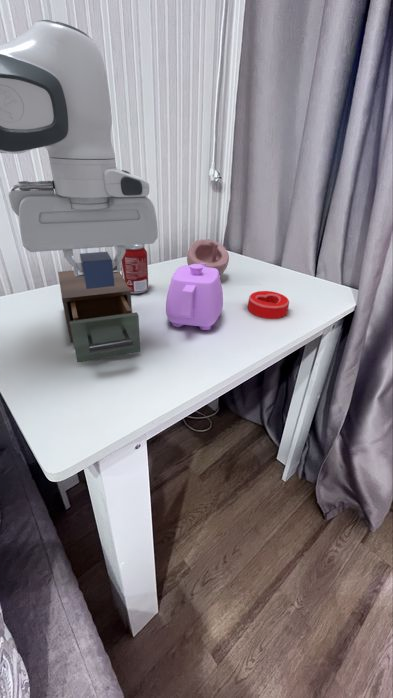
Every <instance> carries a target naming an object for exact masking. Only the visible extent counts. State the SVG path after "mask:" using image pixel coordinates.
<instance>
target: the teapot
mask: <svg viewBox="0 0 393 698" xmlns="http://www.w3.org/2000/svg"><path fill="white" fill-rule="evenodd" d="M223 308H224V293H223V286H222V281H221V275H220V276H219V272H218V270H217V269H216V268H210V267H206V263H200V264H191V265H188V264H185V265H180V266H179V267H178V268H176V270H175V271H174V273H173V274H172V277H171V280H170V283H169V286H168V289H167V293H166V299H165V314H166V316H167V319H168V320H169V322H171V324H172V326H173V327H176V328H180V327H183V326H184V325H185V326H194V327H199V329H200V330H202V331H210V330H212V326H214V324H215V323H217V322H216V321H217V320H218V319H219V317H220V315H221V314H222V311H223Z"/></svg>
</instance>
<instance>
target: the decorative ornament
mask: <svg viewBox="0 0 393 698" xmlns="http://www.w3.org/2000/svg"><path fill="white" fill-rule="evenodd" d="M247 302H248V303H247V310H248V312H249V313H250V314H252V315H253V316H256V317H258V318H262V319H267V320H268V319H269V320H277V319H281V318H285V317H286V316H287V314H288V311H289V307H290V306H289V305H290V300H289V298H288V297H287V296H285V295H284V294H281V293H279V292H277V291H270V290H258V291H254V292H251V294H250V295H249V297H248V301H247Z"/></svg>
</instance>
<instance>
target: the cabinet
mask: <svg viewBox="0 0 393 698" xmlns="http://www.w3.org/2000/svg"><path fill="white" fill-rule="evenodd" d="M57 274H58V275H57V276H58V282H59V288H60V289H59V290H60V295H61V301H62V306H63V311H64V316H65V322H66V327H67V332H68V336H69V342H70V344H74V343H73V338H72V333H71V327H70V321H73V315H72V310H71V304H70V301H78V300H87V299H96V298H104V297H113V296H122V295H124V297H125V299H126V301H127V303H128V305H129V307H130V309H131V311H132V312H133V305H132V294H131V291H130V289H129V287H128V286H127V284H126V282H125V280H124V279H123V277H122V273H121V272H120V273H113V275H114V284H115V286H110V287H101V288H92V289H86V285H85V282H84V278H83V276H78V277H75V275H74V269H73V270H64V271H58V272H57Z"/></svg>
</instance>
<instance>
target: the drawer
mask: <svg viewBox="0 0 393 698" xmlns="http://www.w3.org/2000/svg"><path fill="white" fill-rule="evenodd" d="M70 304H71V310H72V315H73V321H70V327H71V333H72V338H73V343H72V344H73V347H74V348H73V349H74V353H75V359H76V364H81V363H85V362H91V361H99V360H103V359H108V358H114V357H121V356H125V355H132V354H138V353H141V352H142V351H141V350H142V349H141V334H140V321H139V320H140V317H139V314H138V312H137V311H136V312H135V311H134V312H133V310H132V311H131V309H130V307H129V305H128V303H127V301H126V299H125V297H124V295H122V296H113V297H104V298H96V299H87V300H78V301H70Z"/></svg>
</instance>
